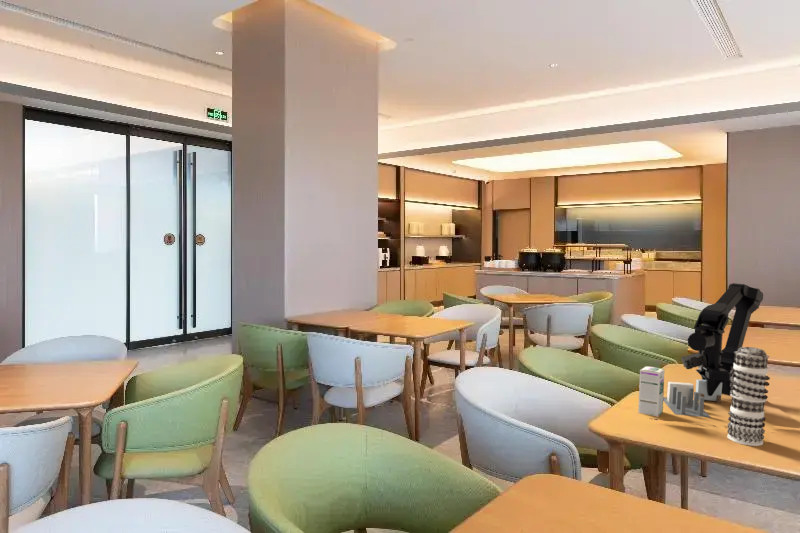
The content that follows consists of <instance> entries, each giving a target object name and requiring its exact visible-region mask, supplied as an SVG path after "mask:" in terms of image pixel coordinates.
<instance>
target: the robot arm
mask: <svg viewBox="0 0 800 533" xmlns="http://www.w3.org/2000/svg"><path fill="white" fill-rule="evenodd" d="M763 300H764V293H763V291H761V289H760V288H758V287H752V286H749V285H747V284H745V283H735V282H733V283H729V285H728V288H727V289H726V291H725V292H724V293H723V294H722V295H721V296H720V297H719V298H718V300H717V301H716V302H715V303H713V304H708V305H707V306H705V307H704V308H703V309H702V310H701V311H700V312H699V314H698V316H697V318H696V319H697V320H696V322H695V325H694V327H693V329H694V332H693V333H691V334H689V336H688V338H687V344H688V346H689V348H691V349H692V351H696V352H697V353H692V354H689V355H685V356H681V361H682V362H681V363H682V364H683V367H684V368H685V369H686V370H692V369H693V368H697V367H698V369H695V371H696V372H697V373H698V374H699V375H700V376H701V380H706V382H707V392H708V396H712V395H713V393H714V392H715V390H716V389H717V387H718V386H719V384H720V383H721V382H722V394H721V395H725V396H726V395H727V396H731V395H730V391H731V390H732V388H731V387H730V383H732V382H731V381H730V378H731V377H733V376H732V375H731V374H730V371H731V370H732V369H731V368H732V367H733V366H734V362H735V353H734V352H736V351H738V349H739V348H741V347H744V346H743V345H744V342H745V338H746V334H747V331H748V328H749V324H750V320H751V316H752V314H753V313H754V312H756V311H757V310H758V309H759V308H760V305H761V303H762V302H763ZM734 308H735V312H734V313H733V314H734V315H733V318H732V322H731V324H730V329H729V333H728V335H727V340H726V343H725V346H724V347H723V334H725V328H726V326H727V325H728V323H729V321H730V317H729V314H730V312H731V311H732V310H733V309H734ZM722 347H723V349H722ZM733 373H734V372H733ZM733 380H734V379H733Z"/></svg>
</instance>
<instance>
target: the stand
mask: <svg viewBox="0 0 800 533" xmlns="http://www.w3.org/2000/svg"><path fill="white" fill-rule="evenodd" d="M700 397H704V394H700ZM715 403H717V404H721V403H722V395H721V396H720V395H717V401H716V402H715Z"/></svg>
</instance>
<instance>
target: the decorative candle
mask: <svg viewBox="0 0 800 533" xmlns="http://www.w3.org/2000/svg"><path fill="white" fill-rule="evenodd" d="M734 353H735V362H734V366H733V367H732V368H731V369H732V370H731V371H730V374H731V375H732V376H733V377H731V378H730V381H731V382H732V383H730V387H731V388H732V390H731V391H730V395H729V396H730V397H731V405H730V409H729V411H728V413H727V414H728V415H729V417H728V418H727V420H728V421H729V422H728V423H727V426H726V427H727V432H726V433H728V434H727V436H726V437H727V439H728V440H730V441H732V442H734V443H737V444H740V445H744V446H751V447H759V446H762V445H764V439H765V436H764V435H765V431H766V430H765V429H764V427H765V426H766V423H765V422H766V419H767V418H766V417H765V402H767V400H768V398H769V397H768V395H766V394H768V393H769V390H768V389H766V387H769V386H770V383H769V382H768V381H770V379H771V377H769V376H768V375H767V374H768V372H769V371H768V370H769V369H768V363H769V362H768V361H769V360H768V359H769V358H770V356H769V355H768V354H767V352H766V351H765V350H763V349H762V348H757V347H753V346H751V347H750V346H742V347H741V348H739V349H738V351H736V352H734ZM733 372H734V373H733ZM733 379H734V380H733Z"/></svg>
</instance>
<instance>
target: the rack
mask: <svg viewBox="0 0 800 533" xmlns="http://www.w3.org/2000/svg"><path fill="white" fill-rule="evenodd" d="M676 391H677V387H676V386H672V398H671V402H669V401H668V400H667V396H663V403H664V404H665V405H666V406H667V407H668V408H669V409H670V410H671V411H672V413H673V414H674V415H677V416H678V415H679V416H690V417H701V418H702V417H703V418H711V415H710V414H708V412H707V411H706V410H705V409H704V405H705V400H704V397H699V393H698V392H696V391H695V388H694V389H693V388H690V387H689V398H688V403H686V396H685V395H681V391H677V394H676Z"/></svg>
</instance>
